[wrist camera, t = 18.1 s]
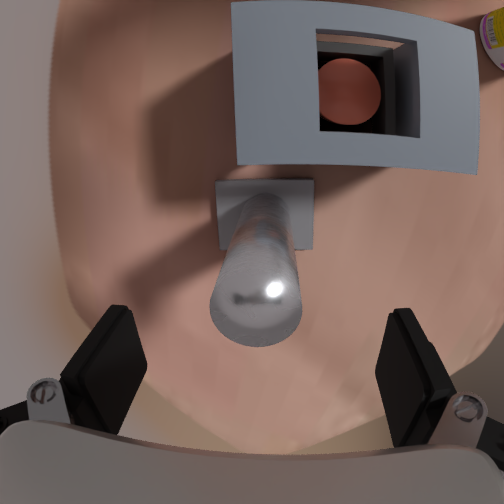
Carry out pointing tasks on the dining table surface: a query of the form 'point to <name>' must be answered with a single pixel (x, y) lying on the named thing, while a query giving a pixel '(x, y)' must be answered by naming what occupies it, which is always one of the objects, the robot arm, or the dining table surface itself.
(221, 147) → the dining table surface
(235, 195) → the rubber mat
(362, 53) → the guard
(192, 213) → the dining table surface
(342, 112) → the button
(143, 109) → the dining table surface
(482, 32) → the supplement bottle
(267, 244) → the silver metal cylinder
